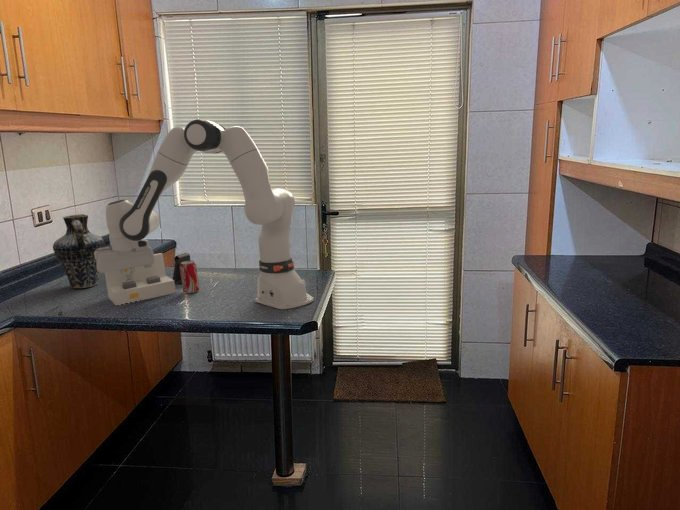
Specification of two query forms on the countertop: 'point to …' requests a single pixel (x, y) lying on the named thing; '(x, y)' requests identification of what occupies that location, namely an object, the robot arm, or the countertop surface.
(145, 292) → the white stepped stand
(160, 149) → the robot arm
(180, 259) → the dark grey wedge
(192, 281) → the beverage can
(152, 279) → the breaker
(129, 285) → the block
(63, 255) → the dark grey patterned vase
